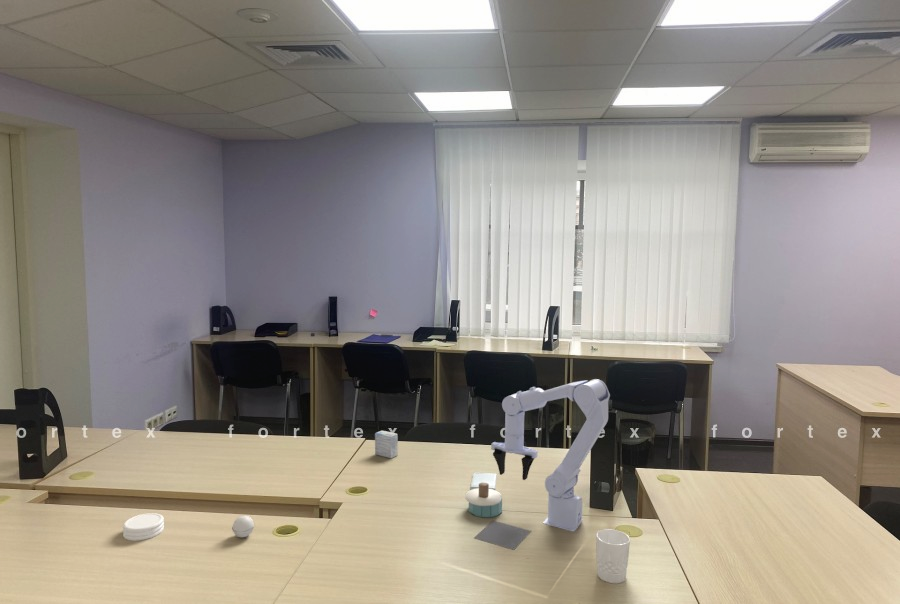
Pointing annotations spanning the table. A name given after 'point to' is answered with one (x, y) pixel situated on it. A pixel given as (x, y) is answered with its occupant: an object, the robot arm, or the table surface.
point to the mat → (502, 535)
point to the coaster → (143, 526)
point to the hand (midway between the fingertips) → (513, 476)
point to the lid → (483, 496)
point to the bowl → (486, 510)
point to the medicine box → (386, 444)
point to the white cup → (612, 555)
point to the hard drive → (484, 480)
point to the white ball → (243, 526)
